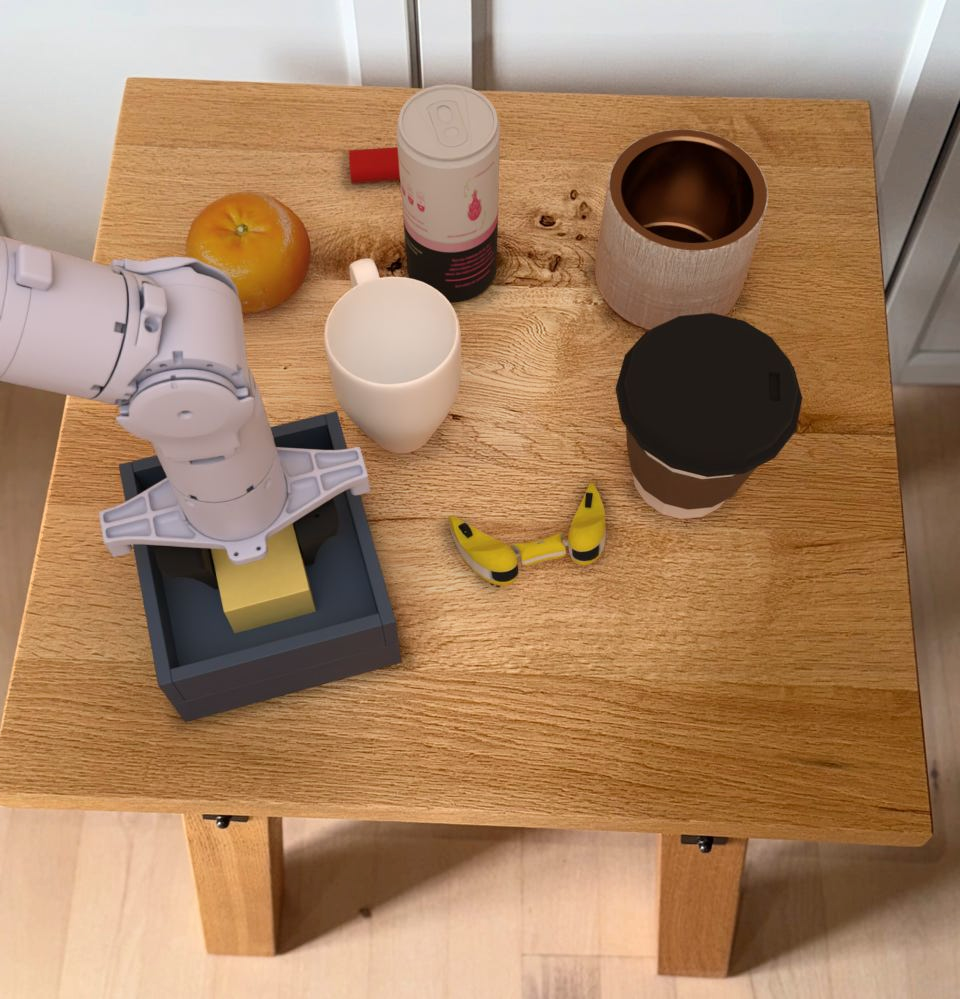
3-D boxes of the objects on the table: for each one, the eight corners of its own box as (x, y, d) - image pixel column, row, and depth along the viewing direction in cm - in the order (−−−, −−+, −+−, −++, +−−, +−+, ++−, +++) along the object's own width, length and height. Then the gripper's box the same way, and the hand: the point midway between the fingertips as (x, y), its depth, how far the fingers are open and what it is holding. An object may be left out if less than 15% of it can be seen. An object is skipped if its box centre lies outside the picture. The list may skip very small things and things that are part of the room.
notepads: (234, 634, 72) (223, 612, 69) (210, 518, 75) (198, 492, 72) (316, 612, 72) (309, 589, 69) (288, 498, 76) (280, 472, 73)
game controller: (475, 612, 75) (469, 572, 73) (451, 545, 80) (445, 506, 78) (626, 573, 76) (625, 533, 74) (594, 510, 81) (592, 470, 79)
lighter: (348, 146, 92) (452, 139, 93) (350, 158, 93) (452, 151, 94) (350, 174, 91) (455, 167, 91) (351, 186, 92) (455, 179, 93)
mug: (479, 459, 81) (479, 365, 71) (361, 494, 80) (344, 404, 70) (424, 321, 86) (417, 215, 76) (312, 352, 85) (290, 249, 75)
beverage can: (483, 227, 90) (485, 73, 77) (506, 296, 88) (512, 148, 74) (398, 245, 90) (385, 92, 76) (419, 315, 87) (409, 169, 73)
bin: (185, 722, 73) (157, 685, 67) (146, 515, 79) (118, 464, 73) (402, 662, 75) (395, 621, 68) (347, 464, 81) (336, 410, 75)
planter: (683, 198, 92) (705, 104, 83) (771, 297, 88) (804, 208, 79) (564, 257, 89) (574, 166, 81) (649, 362, 85) (669, 278, 76)
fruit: (165, 308, 83) (203, 212, 78) (177, 246, 89) (213, 153, 84) (282, 350, 86) (325, 259, 81) (285, 286, 92) (325, 199, 87)
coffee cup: (760, 415, 83) (803, 311, 72) (764, 559, 78) (810, 471, 67) (602, 403, 83) (621, 298, 73) (595, 546, 78) (615, 456, 68)
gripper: (87, 558, 59) (153, 653, 71) (376, 485, 61) (392, 589, 73) (68, 438, 62) (134, 549, 74) (343, 372, 64) (364, 490, 76)
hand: (260, 562), depth 74 cm, fingers closed on notepads, 5 cm apart
